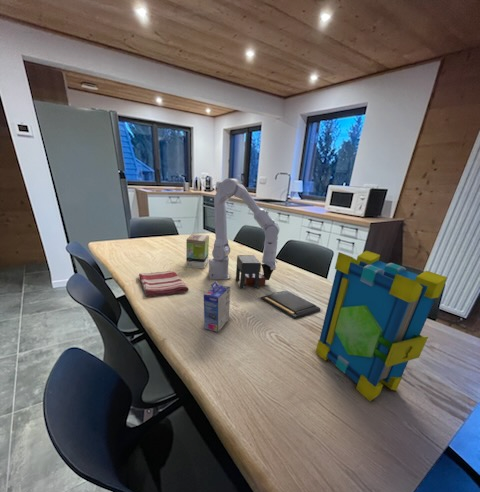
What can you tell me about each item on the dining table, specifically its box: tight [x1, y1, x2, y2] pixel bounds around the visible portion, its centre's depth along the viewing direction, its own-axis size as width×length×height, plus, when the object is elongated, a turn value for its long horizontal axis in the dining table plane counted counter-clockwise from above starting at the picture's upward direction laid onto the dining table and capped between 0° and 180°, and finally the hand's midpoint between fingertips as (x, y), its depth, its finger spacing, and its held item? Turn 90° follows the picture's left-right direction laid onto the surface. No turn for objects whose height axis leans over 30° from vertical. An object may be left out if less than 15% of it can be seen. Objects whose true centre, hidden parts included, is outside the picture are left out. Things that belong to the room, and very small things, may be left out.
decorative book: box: [315, 250, 448, 402], centre depth 65 cm, size 14×23×30 cm, turn 24°
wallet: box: [259, 290, 321, 319], centre depth 106 cm, size 20×2×15 cm
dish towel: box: [138, 270, 189, 298], centre depth 115 cm, size 17×23×3 cm
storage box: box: [244, 273, 267, 287], centre depth 123 cm, size 9×6×4 cm, turn 101°
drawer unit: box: [235, 254, 262, 290], centre depth 121 cm, size 10×12×12 cm
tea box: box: [185, 233, 210, 269], centre depth 142 cm, size 15×10×15 cm, turn 179°
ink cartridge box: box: [203, 280, 231, 333], centre depth 86 cm, size 10×6×14 cm, turn 161°
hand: (266, 279), depth 125 cm, fingers closed, pressing on storage box
